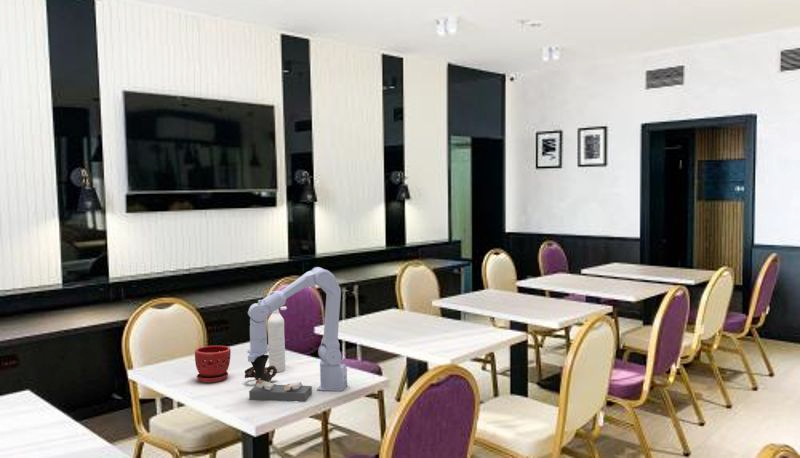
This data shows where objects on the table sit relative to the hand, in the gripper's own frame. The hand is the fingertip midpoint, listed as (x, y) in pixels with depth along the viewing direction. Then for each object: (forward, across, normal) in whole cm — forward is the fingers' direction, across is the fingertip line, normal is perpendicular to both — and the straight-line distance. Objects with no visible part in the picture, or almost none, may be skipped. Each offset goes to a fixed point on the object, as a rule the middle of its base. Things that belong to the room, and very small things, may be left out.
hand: (259, 376), depth 218 cm
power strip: (+7, -2, +7) cm, 10 cm away
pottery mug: (+8, -16, -6) cm, 19 cm away
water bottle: (+8, -34, -5) cm, 35 cm away
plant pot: (+8, -18, -26) cm, 33 cm away
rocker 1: (+3, 0, +2) cm, 4 cm away
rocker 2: (+3, 0, +12) cm, 12 cm away
